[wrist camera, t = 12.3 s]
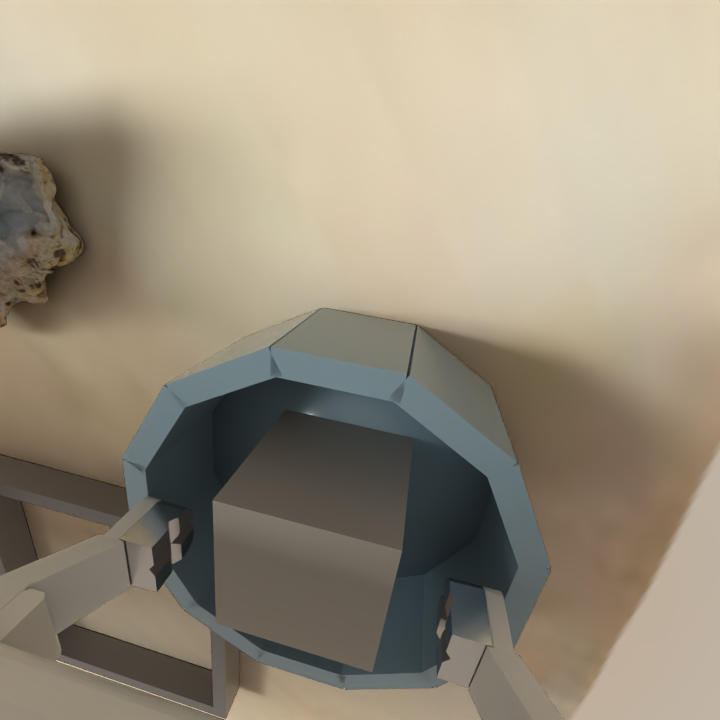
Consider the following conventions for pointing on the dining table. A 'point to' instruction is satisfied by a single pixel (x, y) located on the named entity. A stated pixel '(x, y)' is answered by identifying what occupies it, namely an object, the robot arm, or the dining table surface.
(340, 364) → the bowl
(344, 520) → the pebble block
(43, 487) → the tray
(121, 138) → the dining table surface
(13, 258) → the mineral specimen
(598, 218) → the dining table surface
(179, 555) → the robot arm
